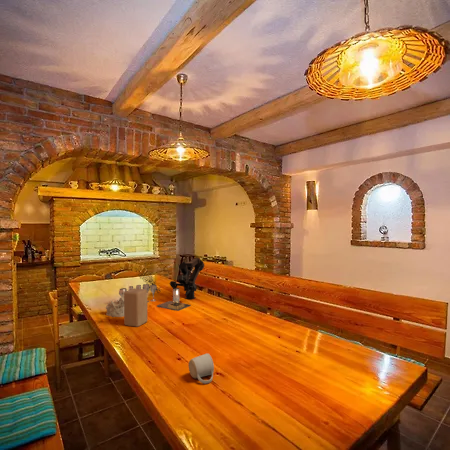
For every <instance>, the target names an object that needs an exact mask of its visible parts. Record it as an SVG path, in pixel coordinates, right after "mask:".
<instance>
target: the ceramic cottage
mask: <svg viewBox="0 0 450 450" xmlns="http://www.w3.org/2000/svg"><path fill="white" fill-rule="evenodd" d="M105 309H106V314H105V315H106V316H109V317H111V318H115V317H117V318H124V293H123V294H122V297H121V296H120V297H119V299H117V300H115V301H113V300H110V302H107V305H106V307H105Z"/></svg>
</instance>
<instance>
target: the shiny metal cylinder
mask: <svg viewBox="0 0 450 450" xmlns="http://www.w3.org/2000/svg"><path fill="white" fill-rule="evenodd" d="M172 301H173V306H178V305H180V304H179V303H180V288H179V287H177V288H172Z"/></svg>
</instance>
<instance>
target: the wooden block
mask: <svg viewBox="0 0 450 450" xmlns="http://www.w3.org/2000/svg"><path fill="white" fill-rule="evenodd" d="M147 301H148V293H147V290H146V289H143V288H141V289H136V287H133V289H131V290H128V289H127V291H125V292H124V316H123V318H124V319H123V321H124V322H123V323H124V325H125V326H129V327H136V328H138V327H140V326H141V325H143V324H146V323H147V322H148V302H147Z"/></svg>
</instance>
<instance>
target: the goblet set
mask: <svg viewBox="0 0 450 450" xmlns="http://www.w3.org/2000/svg"><path fill="white" fill-rule="evenodd" d="M149 285H150V286H149ZM156 285H157V284H155V285H152V284H149V283H148V284H146V283H144V284H142V285H141V284H136V287H135V288H136V289H146V290H147V294H148V293H149V292H151V293H152V299H151V300H147V303H150V302H156V301H157V300H156V299H155V294H156V288H157V286H156ZM149 288H150V290H149ZM131 289H134V286H133V285H129V286H128V289H127V288H125V287H124V288H123V287H121V288H119V290H118V295H119V296H120V298H121V297H122V294H123V293H124V292H125V291H128V290H131Z"/></svg>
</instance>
